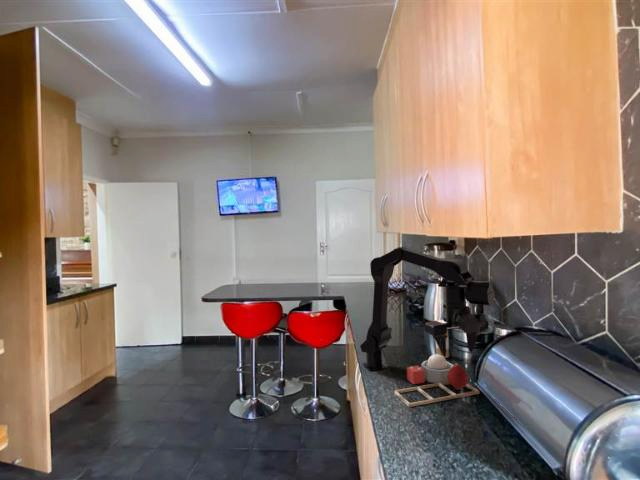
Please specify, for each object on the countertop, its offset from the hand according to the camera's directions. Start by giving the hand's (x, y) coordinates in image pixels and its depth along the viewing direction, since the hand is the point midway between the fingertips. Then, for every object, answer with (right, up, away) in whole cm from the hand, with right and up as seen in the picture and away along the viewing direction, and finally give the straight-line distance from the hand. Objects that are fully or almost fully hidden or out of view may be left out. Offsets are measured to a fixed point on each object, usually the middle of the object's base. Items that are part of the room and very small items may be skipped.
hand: (457, 353), depth 110 cm
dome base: (-5, -11, +9) cm, 15 cm away
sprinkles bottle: (+5, -10, +28) cm, 30 cm away
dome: (-3, -9, +10) cm, 14 cm away
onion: (0, -11, +1) cm, 11 cm away
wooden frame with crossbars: (-7, -11, -1) cm, 13 cm away
